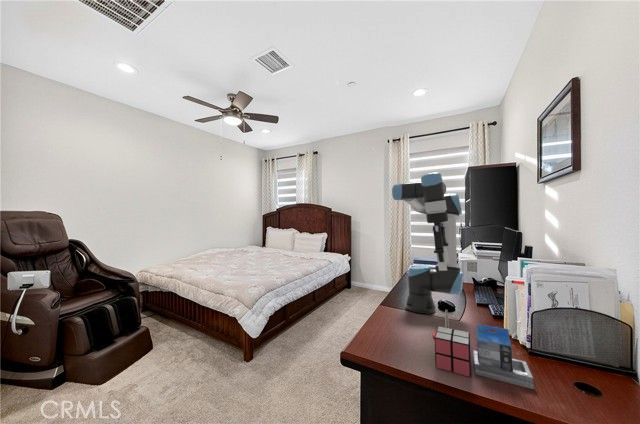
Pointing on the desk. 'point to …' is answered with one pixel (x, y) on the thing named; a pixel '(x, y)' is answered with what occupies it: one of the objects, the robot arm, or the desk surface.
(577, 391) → the desk surface
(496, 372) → the rail tray
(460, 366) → the puzzle cube
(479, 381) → the desk surface
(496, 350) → the label tape box
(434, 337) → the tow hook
